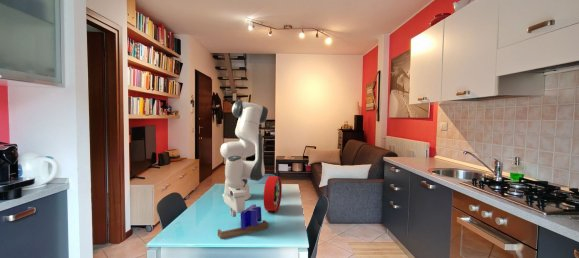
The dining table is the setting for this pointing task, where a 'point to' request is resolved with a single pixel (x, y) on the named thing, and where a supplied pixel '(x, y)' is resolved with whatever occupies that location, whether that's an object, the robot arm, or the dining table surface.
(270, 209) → the red hockey puck
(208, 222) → the dining table surface
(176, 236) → the dining table surface
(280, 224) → the dining table surface
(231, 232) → the handle
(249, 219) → the mounting bracket
